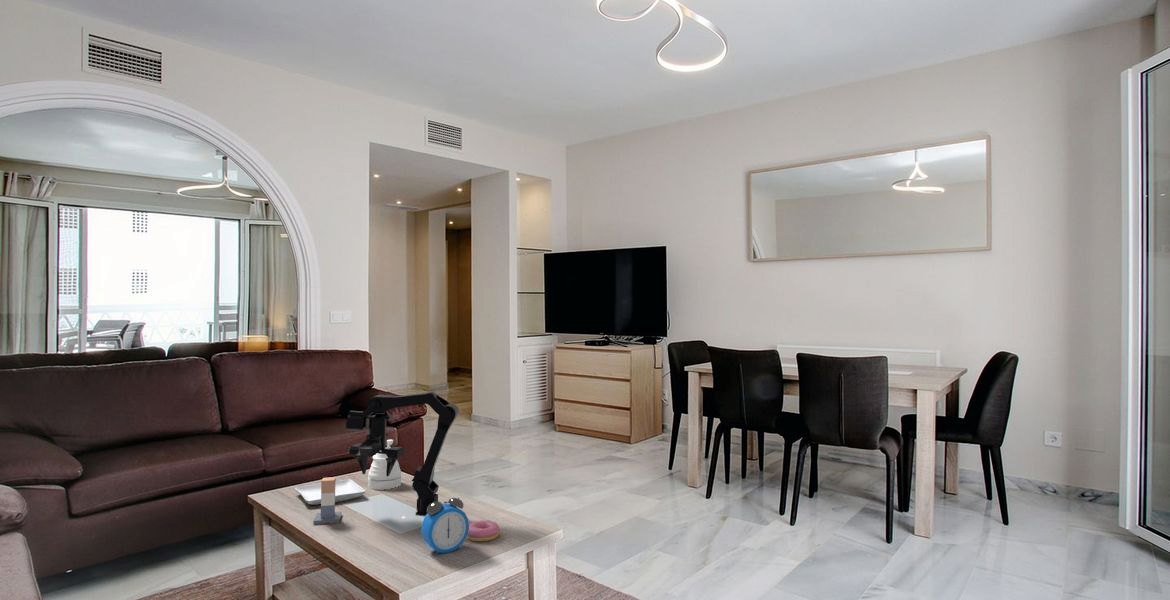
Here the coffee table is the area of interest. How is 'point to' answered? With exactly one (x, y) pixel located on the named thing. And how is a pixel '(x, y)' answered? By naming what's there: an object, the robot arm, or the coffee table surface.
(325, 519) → the baseplate
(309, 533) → the coffee table surface
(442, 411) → the robot arm
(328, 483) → the brick stack
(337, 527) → the coffee table surface
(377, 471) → the honey pot
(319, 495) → the salad plate
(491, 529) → the doughnut
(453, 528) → the alarm clock
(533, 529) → the coffee table surface
